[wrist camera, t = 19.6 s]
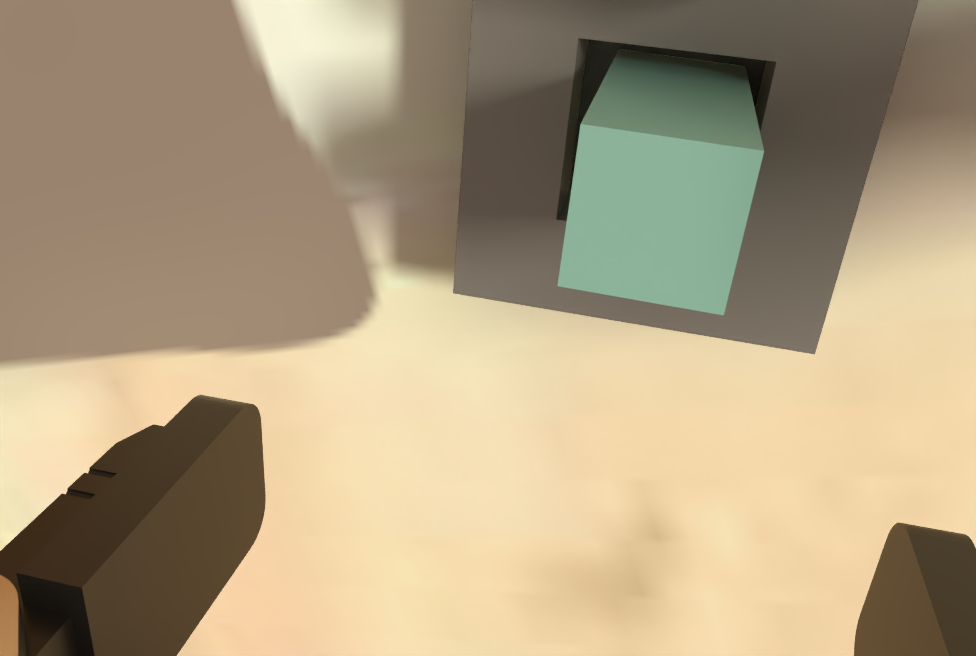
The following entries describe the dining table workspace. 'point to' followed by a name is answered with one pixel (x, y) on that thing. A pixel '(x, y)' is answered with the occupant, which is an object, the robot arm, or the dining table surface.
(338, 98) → the dining table surface
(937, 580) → the robot arm
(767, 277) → the socket block
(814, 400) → the dining table surface
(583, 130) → the teal flat-sided block
